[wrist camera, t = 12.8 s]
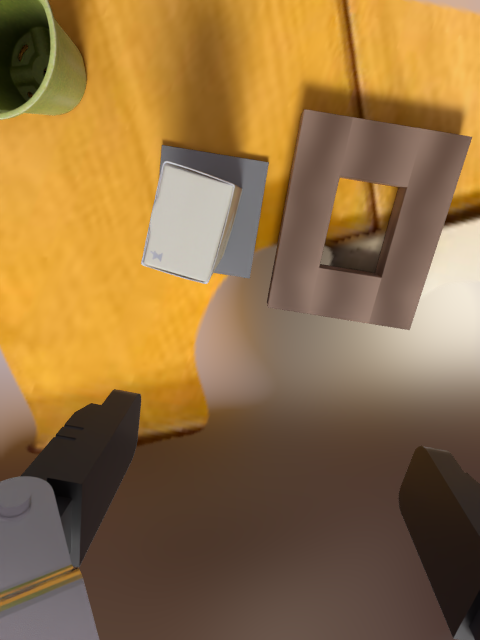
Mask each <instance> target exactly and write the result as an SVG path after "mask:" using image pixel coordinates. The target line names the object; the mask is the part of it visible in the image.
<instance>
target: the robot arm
mask: <svg viewBox="0 0 480 640" xmlns="http://www.w3.org/2000/svg"><path fill="white" fill-rule="evenodd" d="M140 407H141V395H140V394H137V393H132V392H126V391H121V390H116V389H115V390H113V391H112V392H111V393H110V395H109V396H108V397H107V399H106V400H105V401H104V403H103V404H102V405H98V404H92V403H91V404H89V405H87V406H85V407H84V408H82V409H80V410H78V411H76V412H75V413H74V414H73V415H72V416H71V418H70V419H69V420H68V421H67V422H66V423H65V426H64V427H62V428H61V429H60V431H59V432H58V433H57V434H56V437H54V438H53V439H52V440H51V441H50V442H49V443H48V445H47V446H46V447H45V448H44V449H43V450H42V452H41V453H40V454H39V455H38V456H37V458H36V459H35V460H34V461H33V462H32V463H31V465H30V466H29V467H28V468H27V469H26V470H25V472H24V473H23V474H22V475H21V476H20V477H15V478H11V479H7V480H4V481H2V482H0V640H99V637H98V634H97V630H96V626H95V622H94V619H93V615H92V611H91V607H90V603H89V600H88V596H87V592H86V588H85V585H84V581H83V578H82V575H81V572H80V570H79V569H78V568H75V569H73V566H76V567H80V565H81V563H82V560H83V558H84V556H85V554H86V552H87V550H88V548H89V546H90V544H91V542H92V540H93V538H94V536H95V534H96V532H97V530H98V528H99V526H100V524H101V522H102V520H103V518H104V516H105V514H106V512H107V510H108V508H109V505H110V503H111V502H112V499H113V498H114V495H115V493H116V491H117V489H118V487H119V485H120V483H121V481H122V479H123V477H124V475H125V473H126V471H127V469H128V467H129V464H130V463H131V461H132V458H133V456H134V453H135V449H136V445H137V438H138V428H139V417H140ZM399 507H400V511H401V514H402V516H403V519H404V521H405V523H406V526H407V528H408V531H409V533H410V535H411V538H412V540H413V543H414V545H415V547H416V550H417V552H418V555H419V557H420V559H421V562H422V564H423V567H424V569H425V571H426V574H427V576H428V579H429V581H430V583H431V586H432V588H433V591H434V593H435V596H436V598H437V600H438V603H439V605H440V608H441V610H442V612H443V615H444V617H445V620H446V622H447V624H448V627H449V629H450V631H451V634H452V636H453V638H454V639H459V640H480V484H479V483H478V482H477V481H476V480H474V479H473V478H472V477H471V476H470V475H469V474H468V473H465V472H464V471H463V470H462V469H461V467H460V466H459V464H458V463H457V461H456V460H455V459H454V457H453V456H452V454H451V453H450V452H448V451H445V450H440V449H434V448H429V447H424V446H419V447H418V448H417V449H416V450H415V452H414V454H413V457H412V459H411V462H410V464H409V467H408V469H407V472H406V474H405V477H404V480H403V482H402V485H401V488H400V491H399Z"/></svg>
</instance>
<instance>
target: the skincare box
mask: <svg viewBox="0 0 480 640" xmlns="http://www.w3.org/2000/svg"><path fill="white" fill-rule="evenodd" d="M241 194H242V188H240V187H238V186H236V185H235V184H233V183H230V182H228V181H225V180H222V179H220V178H217V177H214V176H212V175H209V174H206V173H203V172H201V171H198V170H195V169H192V168H189V167H186V166H183V165H180V164H176V163H173V162H170V161H165V162H164V163H163V165H162V169H161V174H160V178H159V182H158V187H157V191H156V196H155V201H154V205H153V209H152V214H151V219H150V224H149V229H148V234H147V238H146V243H145V248H144V253H143V257H142V262H141V264H142V265H143V266H147V267H150V268H153V269H155V270H159V271H162V272H165V273H168V274H171V275H175V276H178V277H181V278H185V279H188V280H192V281H196V282H200V283H204V284H207V283H208V282H209V280H210V278H211V276H212V274H213V272H214V271H215V269H216V267H217V265H218V264H219V262H220V260H221V258H222V257H223V255H224V253H225V250H226V247H227V244H228V241H229V237H230V234H231V231H232V228H233V224H234V221H235V217H236V213H237V209H238V205H239V201H240V197H241Z"/></svg>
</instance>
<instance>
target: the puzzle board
mask: <svg viewBox="0 0 480 640" xmlns="http://www.w3.org/2000/svg"><path fill="white" fill-rule="evenodd" d="M471 139H472V137H469V136H463V135H457V134H451V133H445V132H439V131H433V130H427V129H421V128H415V127H409V126H403V125H397V124H391V123H385V122H378V121H372V120H366V119H360V118H354V117H348V116H342V115H336V114H330V113H324V112H318V111H312V110H306V109H304V111H303V113H302V115H301V120H300V126H299V131H298V136H297V142H296V147H295V153H294V158H293V164H292V169H291V174H290V180H289V185H288V191H287V196H286V201H285V207H284V212H283V218H282V223H281V228H280V234H279V239H278V245H277V251H276V256H275V261H274V266H273V272H272V277H271V283H270V288H269V293H268V299H267V304H268V305H267V306H268V308H275V309H282V310H287V311H294V312H300V313H307V314H313V315H319V316H325V317H331V318H338V319H344V320H350V321H357V322H362V323H369V324H375V325H382V326H388V327H394V328H400V329H407V330H410V327H411V324H412V321H413V318H414V315H415V312H416V309H417V306H418V302H419V299H420V296H421V293H422V290H423V287H424V284H425V281H426V278H427V275H428V272H429V269H430V265H431V262H432V259H433V256H434V253H435V250H436V247H437V244H438V241H439V238H440V235H441V232H442V228H443V225H444V222H445V219H446V216H447V213H448V210H449V207H450V204H451V201H452V198H453V195H454V191H455V188H456V185H457V182H458V179H459V176H460V173H461V170H462V167H463V164H464V161H465V157H466V154H467V151H468V148H469V145H470V142H471ZM339 178H345V179H351V180H357V181H364V182H370V183H376V184H382V185H388V186H394V187H399V188H398V191H397V195H396V199H395V202H394V206H393V210H392V213H391V217H390V220H389V224H388V228H387V231H386V235H385V238H384V242H383V246H382V249H381V253H380V257H379V260H378V264H377V267H376V271H375V273H372V272H366V271H359V270H353V269H347V268H341V267H334V266H328V265H322V264H320V261H321V257H322V253H323V248H324V244H325V239H326V235H327V231H328V226H329V222H330V217H331V213H332V208H333V204H334V200H335V195H336V191H337V186H338V182H339Z"/></svg>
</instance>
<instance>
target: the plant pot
mask: <svg viewBox="0 0 480 640" xmlns="http://www.w3.org/2000/svg"><path fill="white" fill-rule="evenodd" d="M24 45H28V48H27V50H26V51H25V52H24V54H23V56H22V59H21V61H19V59H18V56H19V53H20V51H21V49H22V47H23V46H24ZM46 68H47V71H46V74H44V69H46ZM85 88H86V72H85V67H84V62H83V58H82V56H81V54H80V52H79V50H78V48H77V47H76V45H75V44H74V43H73V42H72V40H71V39H70V38H69V36H68V35H67V34H66V33H65V32H64V30H63V29H62V28H61V26H60V25H59V24H58V23H57V21H56V20H55V19H54V16H53V13H52V9H51V7H50V4H49V2H48V0H0V120H2V119H9V118H12V117H16V116H18V115H20V114H23V113H31V114H43V115H60V114H64V113H67V112H69V111H71V110H72V109H73V108H75V107H76V106H77V105H78V103H79V102H80V101H81V99H82V97H83V94H84V91H85ZM28 92H31V93H32V94H33V96H32V97H31V98H30V97H29V95H28Z"/></svg>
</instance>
